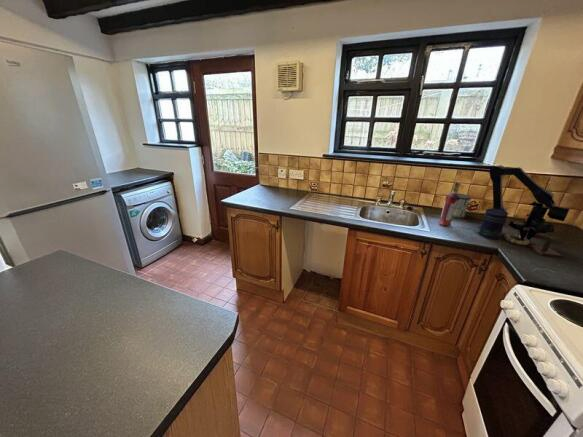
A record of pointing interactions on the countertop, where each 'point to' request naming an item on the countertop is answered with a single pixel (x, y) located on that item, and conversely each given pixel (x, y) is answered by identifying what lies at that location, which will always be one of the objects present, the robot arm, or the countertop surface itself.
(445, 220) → the liquor
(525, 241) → the tape
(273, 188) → the countertop surface
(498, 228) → the storage jar
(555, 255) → the tape post
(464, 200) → the coffee can
